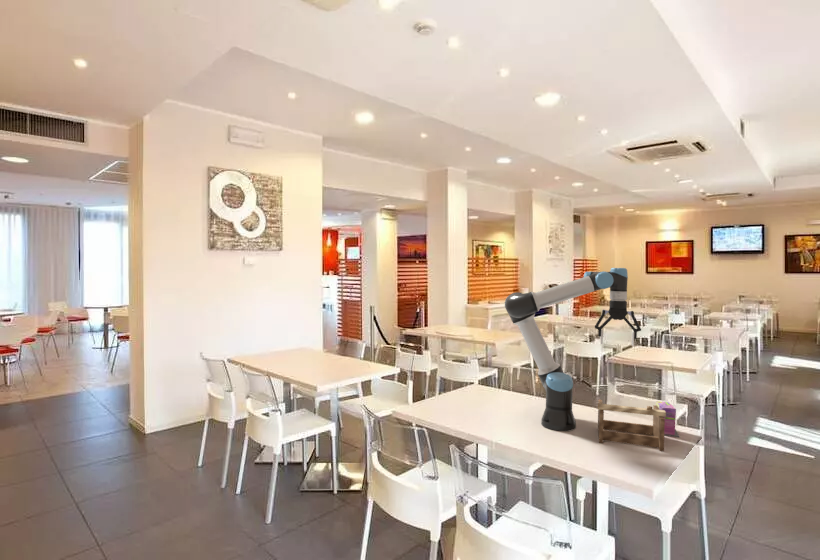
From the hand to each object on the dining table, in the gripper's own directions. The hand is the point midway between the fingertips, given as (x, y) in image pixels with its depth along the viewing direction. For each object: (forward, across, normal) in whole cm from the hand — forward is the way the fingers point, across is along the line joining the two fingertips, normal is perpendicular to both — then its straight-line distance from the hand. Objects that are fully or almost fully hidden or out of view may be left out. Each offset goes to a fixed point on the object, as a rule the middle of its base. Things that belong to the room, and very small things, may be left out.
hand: (617, 344), depth 224 cm
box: (+36, +20, -8) cm, 42 cm away
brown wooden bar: (+24, +4, -30) cm, 38 cm away
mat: (+37, +20, -8) cm, 42 cm away
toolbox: (+37, +4, -24) cm, 44 cm away
